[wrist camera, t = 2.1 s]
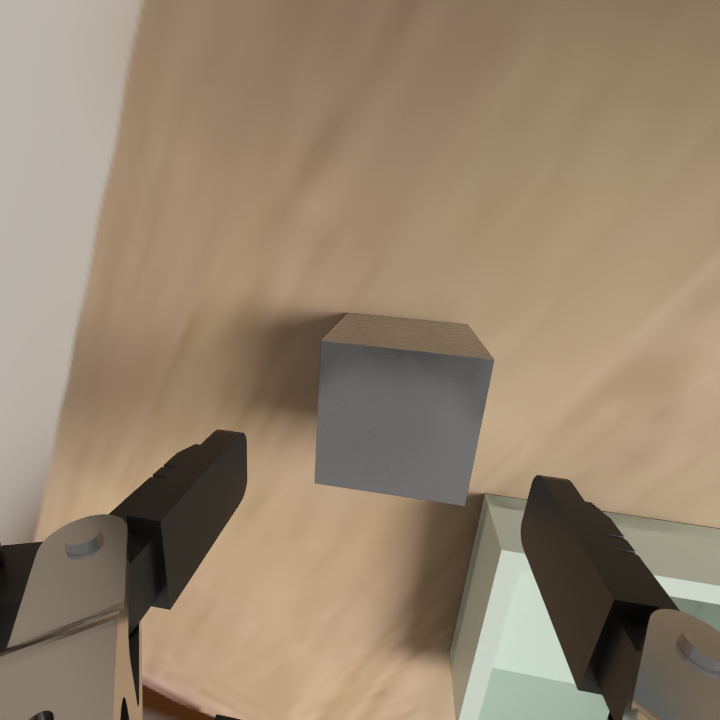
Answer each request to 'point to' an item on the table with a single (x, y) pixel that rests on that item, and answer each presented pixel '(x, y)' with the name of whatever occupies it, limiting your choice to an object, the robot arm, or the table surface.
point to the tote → (532, 622)
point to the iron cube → (400, 406)
